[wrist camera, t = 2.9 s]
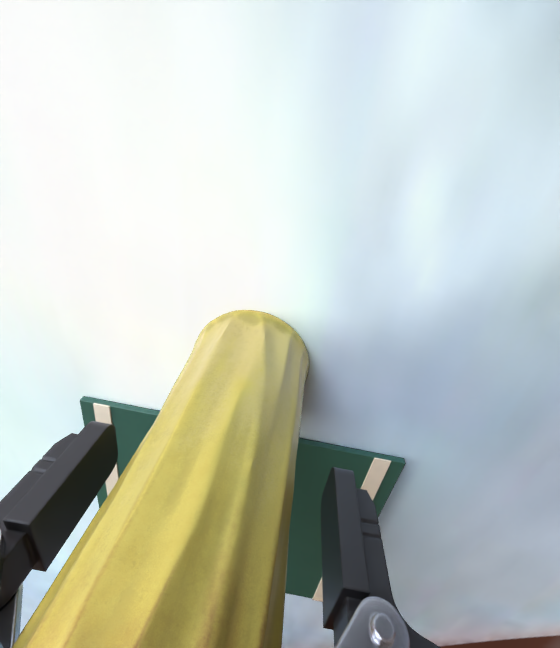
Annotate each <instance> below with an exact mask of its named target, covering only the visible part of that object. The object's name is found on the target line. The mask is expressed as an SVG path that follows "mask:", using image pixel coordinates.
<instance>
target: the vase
mask: <svg viewBox="0 0 560 648" xmlns="http://www.w3.org/2000/svg"><path fill="white" fill-rule="evenodd" d="M308 370H309V358H308V353H307V349H306V347H305V345H304V343H303V341H302V339H301V338H300V336H299V335H298V334H297V332H296V331H295V330H294V329H293V328H292V327H290V326H289V325H288V324H287V323H285V322H284V321H282V320H281V319H279V318H277V317H275V316H273V315H270V314H268V313H264V312H260V311H252V310H238V311H232V312H229V313H226V314H223V315H221V316H219V317H217V318H216V319H214V320H212V321H211V322H210V323H208V324H207V325H206V326H205V328H204V329H203V330H202V331H201V333H200V335H199V336H198V339H197V341H196V343H195V346H194V348H193V351H192V353H191V355H190V357H189V359H188V361H187V363H186V365H185V367H184V368H183V370H182V372H181V374H180V375H179V377H178V379H177V381H176V382H175V384H174V386H173V388H172V390H171V391H170V393H169V395H168V397H167V399H166V401H165V403H164V405H163V407H162V409H161V411H160V412H159V414H158V416H157V418H156V420H155V422H154V424H153V425H152V427H151V428H150V430H149V431H148V433H147V434H146V436H145V437H144V439H143V441H142V442H141V444H140V445H139V447H138V449H137V450H136V452H135V454H134V455H133V457H132V458H131V460H130V462H129V463H128V465H127V466H126V468H125V470H124V471H123V473H122V474H121V476H120V478H119V479H118V481H117V483H116V484H115V486H114V487H113V489H112V490H111V492H110V494H109V495H108V497H107V498H106V500H105V501H104V503H103V504H102V506H101V507H100V509H99V510H98V512H97V514H96V515H95V517H94V518H93V520H92V521H91V523H90V525H89V526H88V528H87V529H86V531H85V533H84V534H83V536H82V537H81V539H80V541H79V542H78V544H77V545H76V547H75V549H74V550H73V552H72V553H71V555H70V557H69V558H68V560H67V561H66V563H65V564H64V566H63V568H62V569H61V571H60V572H59V574H58V576H57V577H56V579H55V580H54V582H53V584H52V585H51V587H50V588H49V590H48V592H47V593H46V595H45V596H44V598H43V599H42V601H41V603H40V604H39V606H38V607H37V609H36V610H35V612H34V613H33V615H32V617H31V618H30V620H29V621H28V623H27V624H26V626H25V627H24V629H23V631H22V632H21V634H20V635H19V637H18V638H17V640H16V641H15V643H14V644H13V646H12V648H281V645H282V632H283V617H284V603H285V589H286V574H287V559H288V543H289V528H290V519H291V510H292V502H293V493H294V480H295V465H296V456H297V448H298V440H299V432H300V424H301V414H302V404H303V394H304V384H305V381H306V378H307V375H308Z"/></svg>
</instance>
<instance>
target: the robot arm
mask: <svg viewBox="0 0 560 648" xmlns="http://www.w3.org/2000/svg"><path fill="white" fill-rule="evenodd" d="M117 458H118V447H117V438H116V429H115V426H114V425H112V424H107V423H102V422H96V421H91V422H89V423H88V424H87V425H86V426H85V427H84V428H83V430H82V431H81V432H80V433H79V434H73V433H71V434H70V435H68V436H67V437H65V438H63V439H62V440H60V441H59V442H57V443H55V444H54V445H53V446H52V448H51V449H50V450H49V451H48V452H47V453H46V454H45V455H44V456H43V458H42V460H39V461H38V462H37V463H36V464H35V466H34V467H33V468H32V470H31V471H29V472H28V473H27V474H26V475H25V476H24V477H23V478H22V479H21V480H20V481H19V483H18V484H17V485H16V486H15V487H14V488H13V489H12V490H11V491H10V492H9V493H8V494H7V495H6V496H5V497H4V498H3V499H2V501H1V502H0V648H12V646H13V644H14V643H15V641H16V640H17V638H18V637H19V635H20V622H21V608H22V593H23V581H24V580H25V578H26V577H27V575H28V574H29V572H30V571H31V570H32V569H34V570H39V571H45V572H46V570H47V569H48V567H49V566H50V564H51V563H52V561H53V560H54V558H55V557H56V555H57V554H58V552H59V551H60V549H61V548H62V546H63V545H64V543H65V542H66V540H67V539H68V537H69V536H70V534H71V533H72V531H73V530H74V528H75V527H76V525H77V524H78V522H79V521H80V519H81V518H82V516H83V515H84V513H85V512H86V510H87V509H88V507H89V506H90V504H91V503H92V501H93V500H94V498H95V497H96V495H97V494H98V492H99V491H100V489H101V488H102V486H103V484H104V483H105V481H106V480H107V478H108V477H109V475H110V474H111V472H112V471H113V469H114V467H115V465H116V462H117ZM321 548H322V589H323V628H327V629H332V630H334V648H440V647H439V646H437V645H435V644H434V643H432V642H431V641H429V640H427V639H426V638H424V637H422V636H421V635H419V634H418V633H417V632H415V631H414V630H413V629H412V628H411V627H410V626H409V625H408V624H407V623H406V622H405V620H404V619H403V618H402V616H401V614H400V613H399V611H398V609H397V607H396V605H395V602H394V600H393V596H392V592H391V587H390V581H389V576H388V571H387V565H386V560H385V555H384V549H383V544H382V540H381V533H380V528H379V525H378V517H377V512H376V507H375V504H374V502H373V501H372V499H371V497H370V495H369V493H368V492H367V490H364V489H358V488H356V482H355V475H354V472H353V471H352V470H346V469H341V468H336V467H332V468H331V470H330V473H329V476H328V479H327V482H326V485H325V488H324V491H323V494H322V500H321Z"/></svg>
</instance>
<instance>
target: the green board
mask: <svg viewBox="0 0 560 648" xmlns="http://www.w3.org/2000/svg"><path fill="white" fill-rule="evenodd" d="M80 404H81V409H82V415H83V420H84V426H86V425H87V424H88V423H89V422H91V421H96V422H102V423H107V424H112V425H114V426H115V429H116V438H117V447H118V458H117V462H116V465H115V467H114V469H113V471H112V472H111V474H110V475H109V477H108V478H107V480H106V481H105V483H104V484H103V486H102V488H101V489H100V491H99V492H98V494H97V497H98V503H99V508H100V507H101V506H102V504H103V503H104V501H105V500H106V498H107V497H108V495H109V494H110V492H111V490H112V489H113V487H114V486H115V484H116V483H117V481H118V479H119V478H120V476H121V474H122V473H123V471H124V470H125V468H126V466H127V465H128V463H129V462H130V460H131V458H132V457H133V455H134V454H135V452H136V450H137V449H138V447H139V445H140V444H141V442H142V441H143V439H144V437H145V436H146V434H147V433H148V431H149V430H150V428H151V427H152V425H153V424H154V422H155V420H156V418H157V416H158V414H159V412H160V411H157V410H152V409H147V408H142V407H137V406H132V405H126V404H121V403H116V402H111V401H106V400H101V399H96V398H90V397H85V396H84V397H83V398H82V399H81V400H80ZM404 466H405V460H404V458H399V457H394V456H389V455H384V454H379V453H373V452H368V451H363V450H358V449H353V448H348V447H343V446H337V445H332V444H327V443H322V442H317V441H312V440H307V439H301V438H299V440H298V448H297V456H296V465H295V480H294V493H293V502H292V510H291V519H290V528H289V543H288V559H287V574H286V589H285V593H288V594H293V595H298V596H303V597H308V598H313V600H316V601H321V602H323V589H322V548H321V500H322V494H323V491H324V488H325V485H326V482H327V479H328V476H329V473H330V470H331V468H332V467H336V468H341V469H346V470H352V471H353V472H354V475H355V482H356V488H358V489H364V490H367V492H368V493H369V495H370V497H371V499H372V501H373V502H374V504H375V507H376V512H377V517H378V516H379V514H380V512H381V510H382V508H383V506H384V505H385V503H386V501H387V499H388V497H389V495H390V493H391V491H392V489H393V487H394V485H395V483H396V481H397V479H398V477H399V475H400V473H401V471H402V469H403V468H404Z"/></svg>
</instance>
